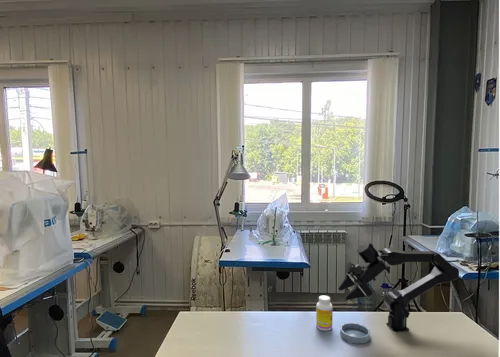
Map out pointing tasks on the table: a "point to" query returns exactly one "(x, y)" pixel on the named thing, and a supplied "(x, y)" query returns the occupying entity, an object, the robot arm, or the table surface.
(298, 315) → the table surface
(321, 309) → the supplement bottle
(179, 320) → the table surface
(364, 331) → the round tray
